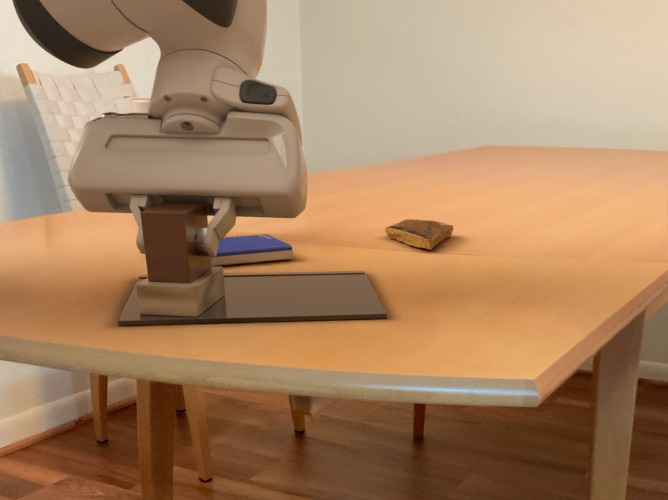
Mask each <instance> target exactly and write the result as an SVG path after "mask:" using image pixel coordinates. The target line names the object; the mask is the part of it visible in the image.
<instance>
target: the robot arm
mask: <svg viewBox="0 0 668 500" xmlns="http://www.w3.org/2000/svg"><path fill="white" fill-rule="evenodd" d="M11 1H12V4H13V8H14V10H15V12H16V15H17V17H18V20H19V21H20V24H21V26H22V27H23V29H24V30H25V32H26V33H27V34H28V36H30V38H31V39H32V40H33V41H34V42H35V44H37V45H38V46H39V47H40V48H41V49H42V50H44V51H45V52H46V53H47V54H49V55H51V56H52V57H54V58H56V59H57V60H59V61H61V62H62V63H65V64H67V65H69V66H72V67H74V68H78V69H86V70H87V69H93V68H95V67H98V66H99V65H100V64H102V63H104V62H105V61H107V60H110V58H112V57H114V56H116V55H117V54H119V53H121V52H122V51H123V50H124V49H125V48H127V47H130V46H131V45H134V44H137V43H139V42H141V41H143V40H146V39H148V38H150V39H152V40H153V41H154V42H155V43H156V44H157V46H158V48H159V51H160V57H159V60H158V63H157V66H156V71H155V76H154V80H153V84H152V90H151V95H150V98H151V99H150V104H149V109H148V113H132V112H128V113H127V112H126V113H118V112H114V111H107V112H103V113H101V115H100V117H98V116H97V117H96V118H94V119H91V120H90V121H87V122H86V123H85V124H84V126H83V128H82V132H81V138H80V141H79V143H78V145H77V148H76V150H75V153H74V156H73V158H72V161H71V163H70V167H69V170H68V174H67V183H68V186H69V188H70V190H71V192H72V194H73V195H74V197H75V199H76V200H77V201H78V202H79V204H80V205H81V206H82V208H84V209H85V211H87V212H88V213H105V214H106V213H107V214H108V213H110V214H111V213H112V214H132V216H133V218H134V221H135V222H136V225H137V226H138V229H137V235H136V243H135V244H136V247H137V249H138V250H139V252H140V254H141V255H145V248H144V239H143V231H142V223H141V214H140V212H142V211H145V210H147V209H150V208H152V207H154V206H157V205H159V204H162V203H164V202H197V203H206V207H207V217H213V218H212V219H210V221H209V222H208V225H207V227H197V232H196V236H197V237H196V238H195V248H196V251H198V255H199V256H216V255H217V250H218V245H219V240H222V239H223V238H225V237H226V236H227V235H228V233H230V232H231V230H232V229H233V228H234V227H235V226H236V222H237V218H238V217H241V218H271V219H296V218H297V217H298V216H299V215H301V214H302V213H303V212H304V211H306V208H307V202H308V187H309V186H308V183H309V182H308V180H309V179H308V169H307V164H306V160H305V159H306V158H305V155H304V150H303V136H302V135H303V134H302V127H301V122H300V118H299V115H298V111H297V108H296V105H295V102H294V100H293V98H292V95H291V93H290V91H289V90H288V89H287V88H285V87H284V86H280V85H277V84H274V83H273V84H272V83H270V82H266V81H263V80H260V79H257V76H258V75H259V73H260V71H261V68H262V65H263V60H264V56H265V55H264V54H265V49H266V40H267V30H268V29H267V28H268V6H267V5H268V3H267V2H268V1H267V0H11Z"/></svg>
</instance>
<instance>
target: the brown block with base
mask: <svg viewBox="0 0 668 500" xmlns="http://www.w3.org/2000/svg"><path fill="white" fill-rule="evenodd" d="M140 214H141V223H142V231H143V239H144V248H145V254H144V255H145V265H146V273H147V275H148V278H146V279H145V280H143V281H141V282H140V283H138V284H136V283H135V285H136V289H137V297H138V305H139V313H140V315H160V316H185V317H198V316H200V315H201V314H202V313H203V312H204V311H206V310H207V309H208V308H209V307H211V306H212V305H213V304H214V303H215V302H217V301H218V300H219V299H220V298H222V297H223V296H224V295H225V288H224V275H223V273H224V267H223V266H212V265H211V256H199V255H198V251H196V248H195V238H196V237H197V236H196V232H197V227H207V225H208V224H209V220H208V219H209V218H208V216H207V207H206V203H197V202H164V203H162V204H159V205H157V206H154V207H152V208H150V209H147V210H145V211H142V212H140Z"/></svg>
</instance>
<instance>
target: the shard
mask: <svg viewBox="0 0 668 500" xmlns="http://www.w3.org/2000/svg"><path fill="white" fill-rule="evenodd" d="M453 231H454V226H453V224H447V223H446V222H445V223H444V222H443V221H442V222H441V221H436V220H427V219H413V218H411V219H402V220H400V221H398V222H397V223H394V224H392V225H388V226H386V227H385V229H384V232H385V233H386V236H387V237H388V238H389V239H390V240H396V241H398V242H402V243H404V244H406V245H407V246H413V247H415V248H420V249H426V250H429V251H430V250H431V251H432V249H434V247H435V246H437V245H439V244H440V243H441V242H443V241H444V240H446V239H448V238H451V237H452V235H453Z"/></svg>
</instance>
